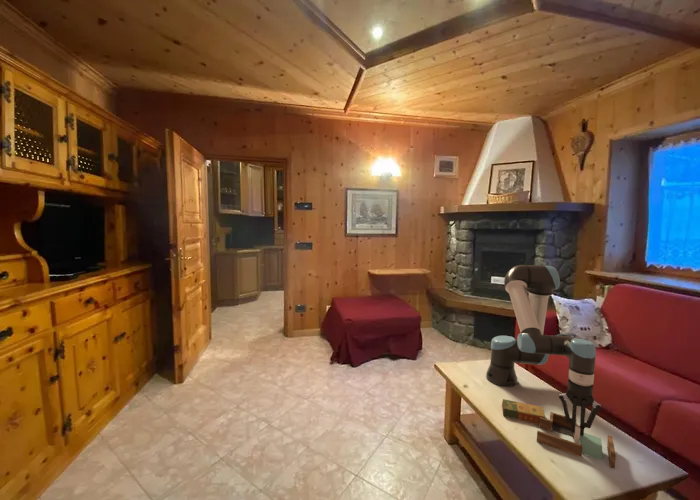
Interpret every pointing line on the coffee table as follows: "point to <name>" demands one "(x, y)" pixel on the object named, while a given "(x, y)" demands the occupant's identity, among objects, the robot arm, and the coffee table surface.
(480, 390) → the coffee table surface
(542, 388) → the coffee table surface
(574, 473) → the coffee table surface
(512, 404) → the carton
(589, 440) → the block
